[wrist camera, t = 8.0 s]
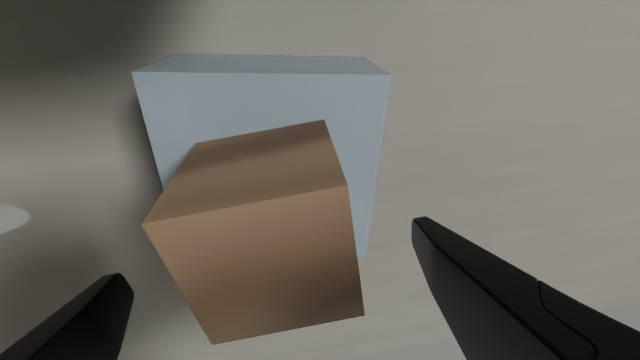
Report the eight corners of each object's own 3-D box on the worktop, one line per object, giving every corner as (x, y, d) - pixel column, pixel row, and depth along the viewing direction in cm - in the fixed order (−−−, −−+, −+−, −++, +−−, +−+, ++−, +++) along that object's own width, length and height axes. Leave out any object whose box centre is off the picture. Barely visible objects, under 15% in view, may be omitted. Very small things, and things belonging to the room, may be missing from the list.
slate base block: (177, 52, 14) (131, 71, 10) (361, 55, 15) (392, 74, 11) (207, 207, 19) (184, 266, 14) (348, 202, 20) (366, 257, 15)
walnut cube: (195, 143, 11) (140, 223, 7) (324, 119, 11) (348, 185, 7) (234, 240, 14) (212, 344, 10) (340, 220, 14) (364, 315, 10)
